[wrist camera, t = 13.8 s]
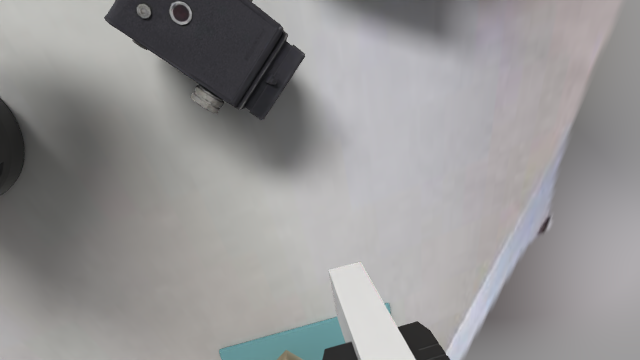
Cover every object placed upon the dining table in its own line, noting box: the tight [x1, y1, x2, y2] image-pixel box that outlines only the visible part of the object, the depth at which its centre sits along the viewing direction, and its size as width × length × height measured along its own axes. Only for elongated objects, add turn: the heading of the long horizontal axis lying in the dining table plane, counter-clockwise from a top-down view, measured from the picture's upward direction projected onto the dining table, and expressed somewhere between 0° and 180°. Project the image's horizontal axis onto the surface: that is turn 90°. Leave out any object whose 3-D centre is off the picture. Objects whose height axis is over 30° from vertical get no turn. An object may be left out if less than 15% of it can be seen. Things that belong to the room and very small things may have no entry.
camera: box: [104, 0, 305, 120], centre depth 29 cm, size 11×11×15 cm
